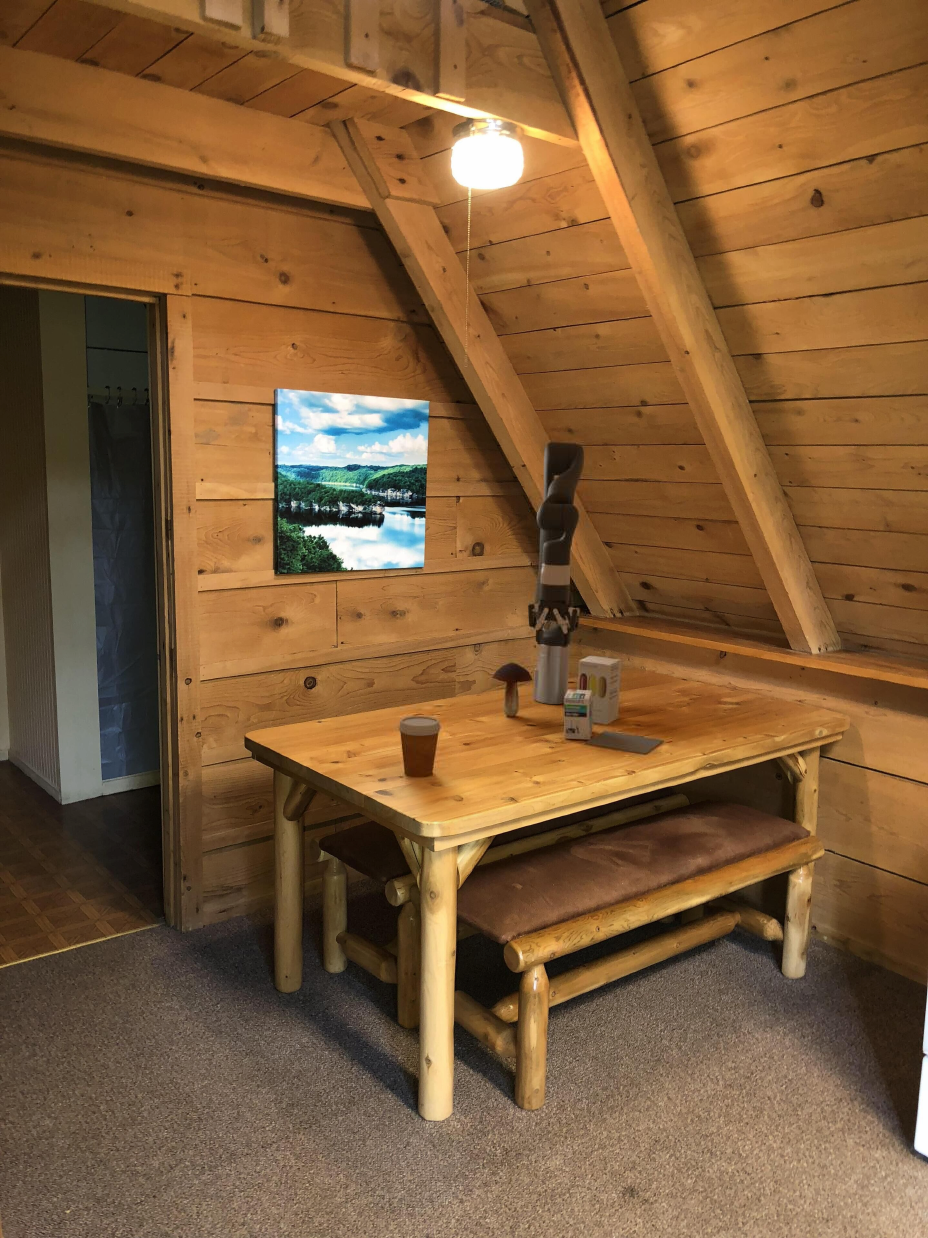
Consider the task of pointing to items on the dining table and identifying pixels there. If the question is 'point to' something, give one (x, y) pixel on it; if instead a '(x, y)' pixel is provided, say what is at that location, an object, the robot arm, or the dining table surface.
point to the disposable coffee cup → (419, 744)
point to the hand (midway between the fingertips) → (552, 645)
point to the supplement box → (601, 686)
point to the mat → (624, 742)
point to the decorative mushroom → (511, 685)
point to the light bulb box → (578, 714)
